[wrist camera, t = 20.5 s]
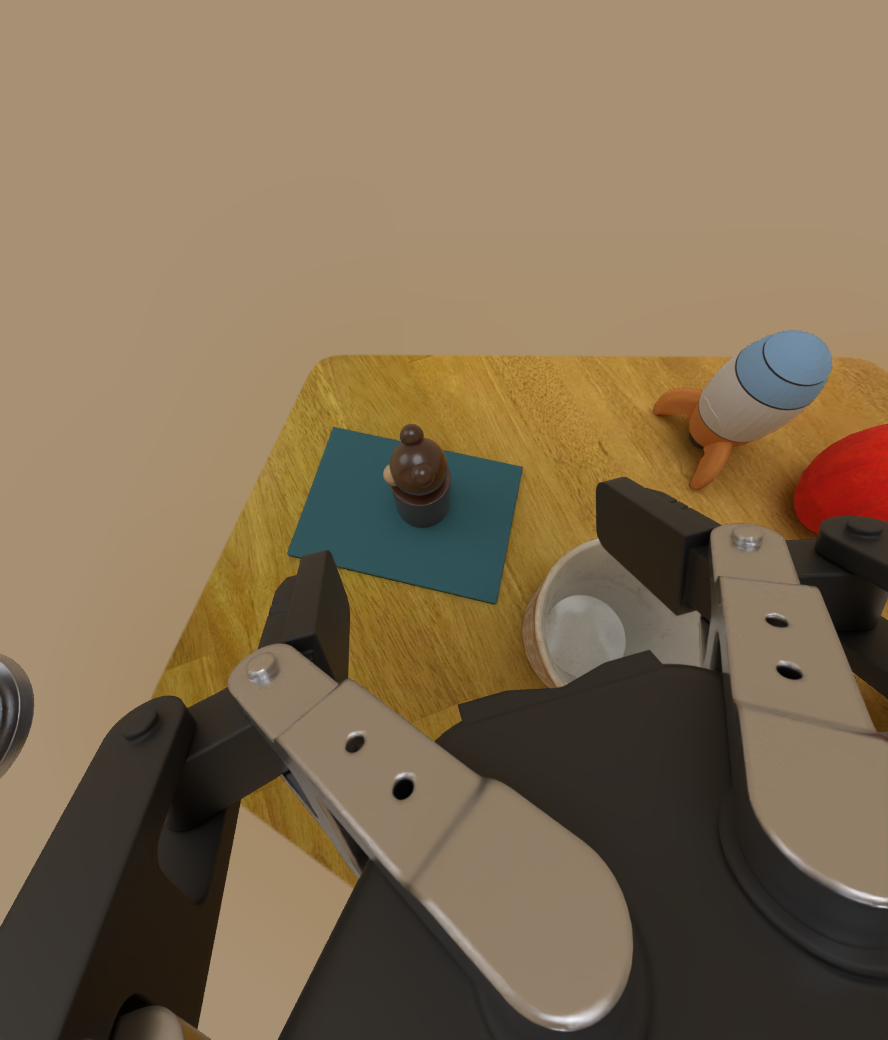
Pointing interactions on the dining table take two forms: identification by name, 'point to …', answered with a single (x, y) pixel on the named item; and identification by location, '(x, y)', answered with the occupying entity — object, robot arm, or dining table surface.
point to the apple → (846, 480)
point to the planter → (600, 619)
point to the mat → (393, 542)
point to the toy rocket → (750, 396)
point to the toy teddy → (419, 479)
